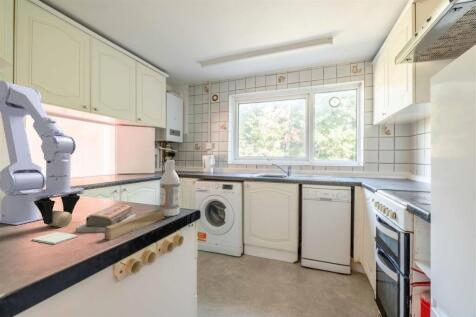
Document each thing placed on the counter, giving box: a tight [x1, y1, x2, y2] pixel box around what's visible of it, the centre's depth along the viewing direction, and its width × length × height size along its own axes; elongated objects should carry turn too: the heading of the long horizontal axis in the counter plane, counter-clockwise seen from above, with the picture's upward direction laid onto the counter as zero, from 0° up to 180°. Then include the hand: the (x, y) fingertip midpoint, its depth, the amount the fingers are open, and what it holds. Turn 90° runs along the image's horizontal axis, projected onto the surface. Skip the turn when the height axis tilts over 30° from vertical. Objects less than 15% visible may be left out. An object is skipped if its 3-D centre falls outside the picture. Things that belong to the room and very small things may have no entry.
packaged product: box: [75, 204, 139, 233], centre depth 72 cm, size 18×5×10 cm
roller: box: [46, 210, 73, 228], centre depth 68 cm, size 5×4×4 cm
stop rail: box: [104, 208, 165, 241], centre depth 68 cm, size 2×22×3 cm, turn 162°
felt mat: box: [31, 231, 79, 245], centre depth 57 cm, size 8×6×1 cm
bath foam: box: [159, 159, 181, 217], centre depth 84 cm, size 7×7×20 cm
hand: (57, 221), depth 68 cm, fingers open, 5 cm apart
